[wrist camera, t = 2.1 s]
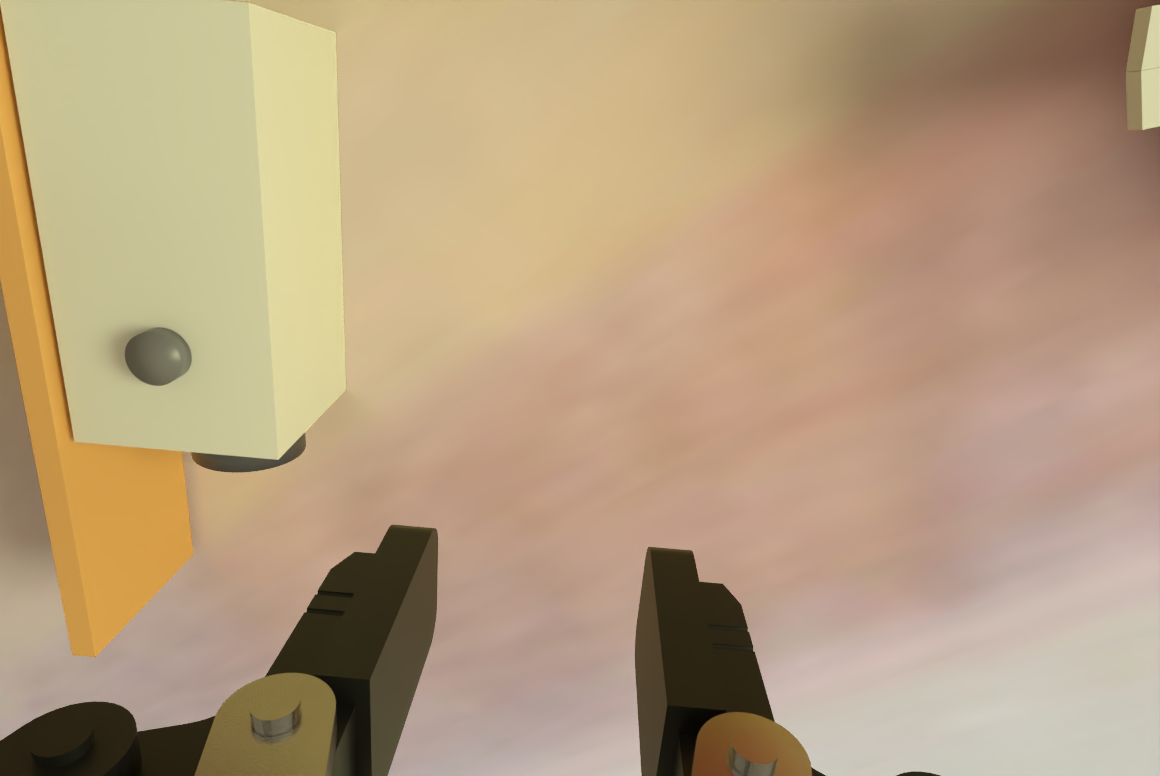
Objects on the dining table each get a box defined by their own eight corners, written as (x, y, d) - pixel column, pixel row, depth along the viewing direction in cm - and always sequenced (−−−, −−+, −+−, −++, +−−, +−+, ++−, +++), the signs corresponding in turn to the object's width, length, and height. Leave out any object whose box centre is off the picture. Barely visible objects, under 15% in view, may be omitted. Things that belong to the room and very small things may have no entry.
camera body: (145, 15, 31) (-25, -25, 22) (335, 32, 31) (236, -2, 22) (187, 401, 36) (66, 483, 28) (346, 415, 36) (271, 501, 28)
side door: (87, 9, 30) (-85, -29, 23) (130, 13, 30) (-27, -24, 23) (160, 551, 39) (53, 653, 31) (193, 554, 39) (95, 656, 31)
